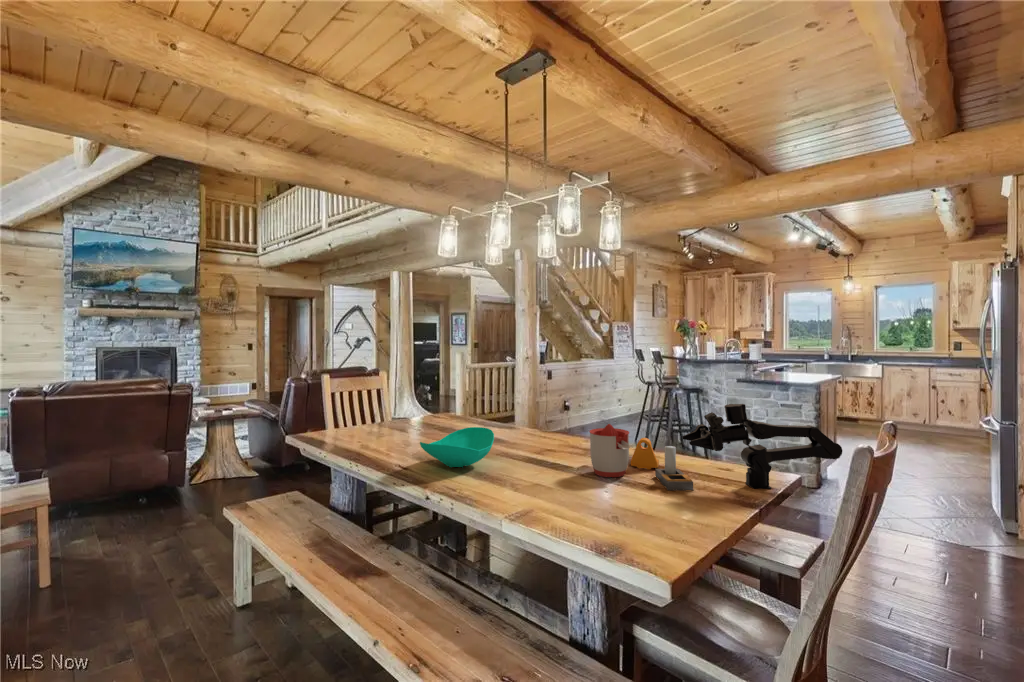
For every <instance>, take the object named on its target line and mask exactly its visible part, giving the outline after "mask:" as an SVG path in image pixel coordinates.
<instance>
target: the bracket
mask: <svg viewBox="0 0 1024 682" xmlns="http://www.w3.org/2000/svg"><path fill="white" fill-rule="evenodd" d="M643 443H644V444H645V445H646V446H647V447H643V446H642V444H643ZM659 463H660V459H658V458H657V456H656V454H655V452H654V449H653V445H652V442H651V439H649V438H647V437H641V438H640V439H639V440H638V442H637V444H636V447H635V448H634V452H633V454H632V457H631V459H630V466H631V467H636V468H637V469H640V468H647V469H646V470H652V469H654V468H655V469H659V465H660V464H659Z"/></svg>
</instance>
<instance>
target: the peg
mask: <svg viewBox="0 0 1024 682" xmlns="http://www.w3.org/2000/svg"><path fill="white" fill-rule="evenodd" d="M676 449H677V447H676V446H674V445H673V446H672V445H666V446H664V469H665V474H676V469H677V458H676V457H677V456H676V455H677V450H676Z"/></svg>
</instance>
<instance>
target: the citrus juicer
mask: <svg viewBox="0 0 1024 682" xmlns="http://www.w3.org/2000/svg"><path fill="white" fill-rule="evenodd" d="M588 431H589V441H590V442H589V448H590V460H591V465H592V469H593V471H594V473H595V475H597V476H600V477H603V478H607V477H612V478H619V477H623V476H625V474H626V471H627V469H628V465H629V461H630V460H629V458H630V438H629V437H630V436H629V435H630V431H629V430H626V429H622V428H615V427H614V426H613V425H612V424H611V423H608V424H607V425H605V426H604V427H602V428H601V427H599V428H593V429H590V430H588Z"/></svg>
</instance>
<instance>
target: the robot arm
mask: <svg viewBox="0 0 1024 682" xmlns="http://www.w3.org/2000/svg"><path fill="white" fill-rule="evenodd" d="M746 410H747V407H746V404H745V403H728V404H725V405H724V411H725V417H726V421H727V422H730V424H731V425H726V426H725V425H724V424H723V423H724V418H723V417H722V416H718V414H716V413H714V412H713V411H711V412H709V413H707V414H706V415H704V416H703V417H704V419H705V420H706V421H707V423H708V425H709V426H707V425H705V424H702V423H701V424H697V426H696V428H695V430H694V431H691V432H689V433H687V434H684V435H682V436H681V438H682V440H685V441H689V442H688V443H689V445H691V446H695V447H699V448H703V449H706V450H710V451H714V452H720V451H722V450H723V449H724V448H725V447H724V444H727V445H729V444H730V445H731V443H734V442H741V441H742V444H743V445H745V446H746V447H744V448H743V449H742V451H740V458H741V460H742V461H743V462H744V463H745V465H746V466H747V468H746V469H747V472H745V485H747V486H748V485H749V486H748V487H750V488H751V489H754V490H755V489H756V490H761V489H762V490H763V489H764V490H771V489H773V488H772V486H770V472H771V470H772V465H771V464H770V463H772V462H779V461H787V460H788V461H790V460H797V459H798V460H799V459H807V458H816V459H817V458H818V459H823V460H837V459H838V460H839V459H840V458H841V456H842V454H843V448H842V446H841V445H840V444H839V443H838V442H834V441H833V440H832V439H831V438H829V437H828V436H827V435H826V434H824V433H823V432H822V431H821V430H820V428H818V427H817V426H813V425H809V424H808V425H797V424H796V425H794V424H793V425H792V424H791V425H789V424H772V423H768V422H762V421H758V420H751V419H749V418H748V416H747V411H746ZM750 436H751V437H753V438H754V439H757V440H769V439H772V438H778V437H782V438H783V437H784V438H785V437H786V438H787V437H788V438H807V439H809V441H810V443H809V444H806V445H805V444H802V445H797V446H796V445H795V446H786V447H785V446H784V447H777V448H775V447H774V448H767V447H765V446H763V445H761V444H755V445H750V444H751V442H752V441H753V439H751V438H750Z"/></svg>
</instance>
